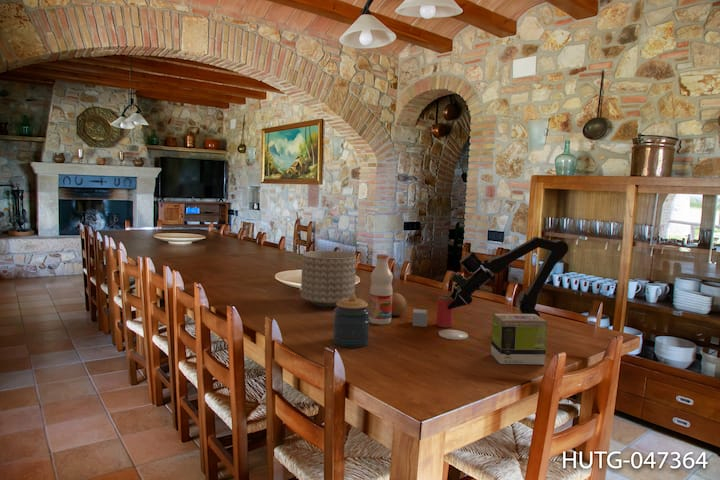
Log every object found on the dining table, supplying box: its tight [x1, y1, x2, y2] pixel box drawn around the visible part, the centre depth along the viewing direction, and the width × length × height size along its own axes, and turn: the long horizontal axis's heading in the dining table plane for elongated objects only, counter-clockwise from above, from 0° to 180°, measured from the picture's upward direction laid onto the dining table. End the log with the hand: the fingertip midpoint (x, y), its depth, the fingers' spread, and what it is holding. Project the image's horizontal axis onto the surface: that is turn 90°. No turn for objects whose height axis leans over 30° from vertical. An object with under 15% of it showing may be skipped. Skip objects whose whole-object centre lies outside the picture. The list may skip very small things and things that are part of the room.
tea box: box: [490, 312, 548, 366], centre depth 156 cm, size 15×10×15 cm
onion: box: [391, 292, 408, 317], centre depth 206 cm, size 10×10×10 cm
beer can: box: [435, 295, 454, 329], centre depth 193 cm, size 7×7×12 cm
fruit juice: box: [368, 254, 394, 326], centre depth 195 cm, size 9×9×28 cm
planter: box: [300, 250, 357, 309], centre depth 220 cm, size 25×25×24 cm
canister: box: [332, 293, 371, 349], centre depth 167 cm, size 13×13×18 cm
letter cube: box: [412, 308, 428, 328], centre depth 194 cm, size 6×6×6 cm
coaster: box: [438, 329, 469, 341], centre depth 181 cm, size 11×11×1 cm
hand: (447, 305), depth 193 cm, fingers open, 9 cm apart
